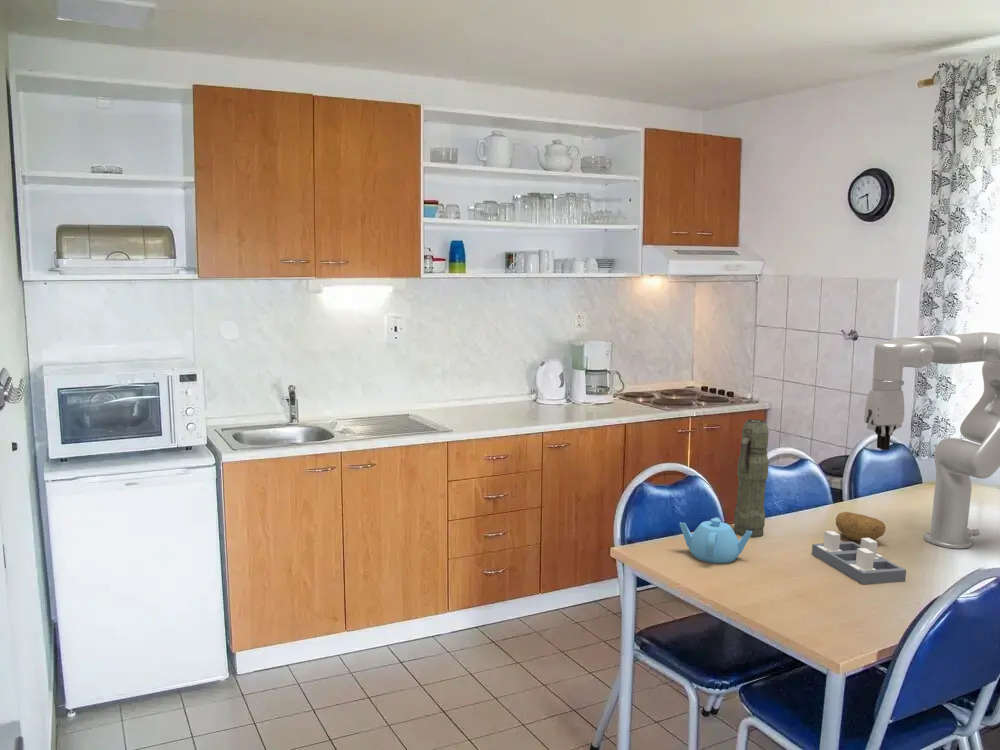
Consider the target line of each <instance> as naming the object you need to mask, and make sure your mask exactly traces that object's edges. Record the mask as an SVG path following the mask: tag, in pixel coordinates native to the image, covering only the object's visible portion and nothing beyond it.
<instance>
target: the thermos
mask: <svg viewBox="0 0 1000 750" xmlns="http://www.w3.org/2000/svg"><path fill="white" fill-rule="evenodd" d="M769 431H770V430H769V428H768V424H767V422H766V421H764V420H763V419H756V418H755V419H754V418H751V419H747V420H745V421H744V425H743V427H742V429H741V441H740V442H741V444H740V454H739V456H738V460H737V473H736V475H737V478H738V481H737V482H738V484H737V496H736V498H737V500H736V507H735V509H734V516H733V524H734V526H733V528H734V529H733V531H734V533H735V535H738V536H740V537H743V536H744V534H745V533H746V531H747V530H748V531H752V534H751V536H750V538H760V537H762V536H764V528H765V525H766V523H765V521H766V511H765V508H764V507H765V496H766V495H765V494H766V482H767V480H768V475H769V458H768V447H769V446H768V444H769V433H770V432H769Z"/></svg>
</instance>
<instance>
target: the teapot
mask: <svg viewBox="0 0 1000 750" xmlns="http://www.w3.org/2000/svg"><path fill="white" fill-rule="evenodd" d="M679 528H680V529H681V532H682V535H683V538H684V541H685V543H686V546H687V547H688V549H689V552H690V553H691V554H692V556H693V557H694V558H696V559H697V560H700V561H702V562H705V563H710V564H711V563H712V564H729V563H732V562H734V561H735V560H736V559H737V558H738V557H739V556H740V554H742V552H743V550H744V548H745V546H746V545H747V543H748V542H749V539H750V538H751V537H750V536H751V534H752V531H748V530H747V531H746V533H745V534H744V536H741V538H740V539H739V540H738V537H737V534H736V533H735V532H734V529H733V528H732V526H731V525H730V524H729V523H725V522H723V521H722V519H720V517H717V516H716V517H714V518H710V520H706V521H702V522H701V523H699V525H698V526H697V527H696V528H695V530H694V531H693V533H691V531H690V529H689V527H688V526H687V524H686V522H679Z"/></svg>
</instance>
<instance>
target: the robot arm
mask: <svg viewBox="0 0 1000 750" xmlns="http://www.w3.org/2000/svg"><path fill="white" fill-rule="evenodd" d="M978 362H979V363H980V362H983V364H982V369H981V374H982V379H983V393H982V395H981V397H980V398H979V400H978V401H977V403H976V404H975V405H974V406H973V408H972V409H971V410H970V411H969V413H967V415H966V417H965V418H964V419H963V421H962V422H961V424H960V427H959V432H960V435H961V436H962V437H963V438H964V439H966V440H964V439H962V438H961V439H960V438H956V437H948V438H944V439H942V440H940V441H939V442H938V443H937V444H936V447H935V449H934V463H935V465H934V466H935V484H934V485H935V486H934V492H933V505H932V514H931V521H930V522H931V523H930V531H927V532H925V533H924V534H923V535H924V536H923V538H924V540H925V541H927V542H928V543H930V544H932V545H935V546H939V547H943V548H948V549H955V550H957V549H962V550H963V549H968V548H971V547H972V544H973V543H972V540H971V539H970V537H977V536H980V535H981V531H980V529H978V528H976V529H970V527H968V523H969V515H970V507H971V497H972V491H973V490H972V480H971V477H972V478H976V479H980V480H983V479H987V478H989V477H991V476H993V475H994V474H995V473H996V472H997V470H998V469H999V468H1000V333H998V332H997V333H996V332H995V333H993V332H988V331H987V332H986V331H985V332H983V331H982V332H981V331H980V332H969V333H959V334H940V335H939V334H938V335H924V336H923V335H922V336H921V335H920V336H918V335H917V336H902V337H901V336H900V337H894V338H890V339H889V340H888V341H881V342H880V341H879V342H876V344H875V345H874V354H873V369H872V385H871V386H872V388H871V389H869V392H868V394H867V396H866V397H867V398H866V402H865V408H864V416H863V417H864V419H863V421H864V423H866V424H867V426H866V429H867V430H870V431H873V432H874V433H875V435H877V437H876V448H877V449H880V450H882V451H886V450H887V451H889V450H890V446H891V445H890V444H891V443H890V442H891V436H893V435H894V434H893V433H894V432H895V430H897V429H901V428H902V426H903V423H904V421H905V419H904V418H905V395H904V391H903V390H902V386H904V385H905V381H903V372H904V371H903V370H904V368H913V369H921V368H925V367H927V366H929V365H930V364H933V363H934V364H940V365H941V364H942V365H957V364H958V365H960V364H967V363H978Z"/></svg>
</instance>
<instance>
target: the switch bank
mask: <svg viewBox="0 0 1000 750" xmlns="http://www.w3.org/2000/svg"><path fill="white" fill-rule="evenodd" d="M822 546H824V542H823V543H812V547H811V555H812V556H814V557H816V558H817V559H819V560H820V561H822V562H824V563H826V564H827V565H829V566H831V567H832V568H834V569H836V570H838V571H839V572H840V573H842V574H843V575H846V576H847V577H849V578H851V579H852V580H854V581H856V582H858V583H859V584H861V585H872V584H873V585H874V584H882V583H883V584H885V583H896V582H897V583H899V582H906V578H907V577H906V576H907V569H905V568H903V567H901V566H899V565H897V564H896V563H894V562H892V561H890V560H888V559H887V558H885V557H883V555H881V554H879V553H877V554H876V557H878V558H880V559H874V560H873V568H874V569H876V570H870V571H862V570H861V569H860V568H859V567H857V566H855V565H853V564H856V554H857V548H860V546H861V544H858V543H856V542H855V541H854V540H852V541H842V542H841V541H840V545H839V549H840V550H842V551H837V552H829V551H828V550H827V549H825V548H824V547H822Z"/></svg>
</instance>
